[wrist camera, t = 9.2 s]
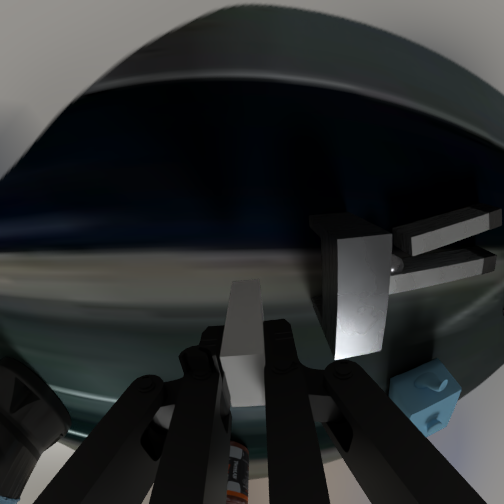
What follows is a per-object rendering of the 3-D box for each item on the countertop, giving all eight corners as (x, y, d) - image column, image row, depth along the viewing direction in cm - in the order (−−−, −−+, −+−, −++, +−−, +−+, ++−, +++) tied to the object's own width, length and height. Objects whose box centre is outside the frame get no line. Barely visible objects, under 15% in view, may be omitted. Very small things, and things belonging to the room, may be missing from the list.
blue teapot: (387, 349, 23) (420, 401, 16) (436, 329, 22) (475, 371, 15) (382, 416, 26) (401, 461, 19) (423, 399, 26) (447, 439, 19)
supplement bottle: (230, 432, 26) (225, 515, 15) (258, 452, 28) (259, 526, 17) (192, 443, 27) (179, 517, 16) (220, 462, 29) (215, 529, 18)
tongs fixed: (342, 282, 21) (356, 301, 17) (342, 248, 20) (357, 263, 17) (473, 259, 20) (494, 270, 17) (476, 232, 19) (498, 241, 16)
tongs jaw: (393, 245, 20) (412, 257, 17) (391, 227, 19) (411, 236, 16) (480, 218, 19) (501, 225, 16) (479, 202, 18) (501, 208, 15)
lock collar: (312, 306, 21) (334, 360, 14) (308, 215, 19) (337, 239, 12) (348, 301, 21) (380, 350, 14) (348, 211, 19) (392, 233, 12)
